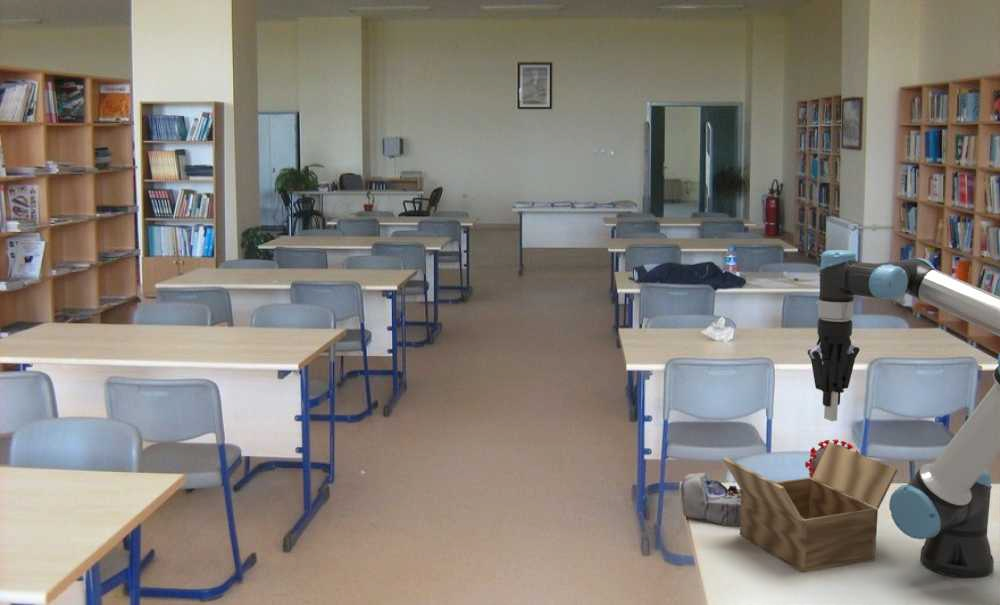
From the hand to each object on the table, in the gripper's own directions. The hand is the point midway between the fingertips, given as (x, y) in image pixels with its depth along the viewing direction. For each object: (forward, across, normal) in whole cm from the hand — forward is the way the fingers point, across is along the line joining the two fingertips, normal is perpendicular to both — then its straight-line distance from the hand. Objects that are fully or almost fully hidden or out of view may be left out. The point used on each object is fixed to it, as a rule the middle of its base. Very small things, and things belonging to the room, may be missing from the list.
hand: (830, 419), depth 253 cm
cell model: (+31, +13, -24) cm, 41 cm away
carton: (+30, +5, 0) cm, 31 cm away
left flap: (+14, +18, 0) cm, 23 cm away
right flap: (+14, -7, 0) cm, 16 cm away
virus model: (+31, -25, -28) cm, 49 cm away
